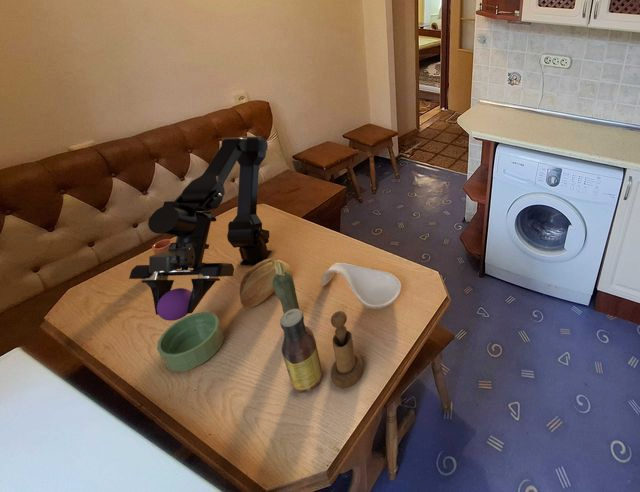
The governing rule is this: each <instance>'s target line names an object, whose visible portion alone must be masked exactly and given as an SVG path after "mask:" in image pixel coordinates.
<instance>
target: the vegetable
mask: <svg viewBox="0 0 640 492" xmlns="http://www.w3.org/2000/svg"><path fill="white" fill-rule="evenodd" d="M274 264H275V270H276V273H277V274H276V275H275V276H274V278H273V288H274V293H275V295H276V297H277V299H278V300H279V301H280V304H281V308H282V313H283V315H284V314H285V313H286V312H287V311H289V310H291V309H299V310H300V305H299V300H298V295H297V292H296V287H295V281H294V279H293V275H292V273H291V274H290V273H289V272H287V271H285V269H284V265H283V264H282V263H281V262H278V261H277V260H274V261H272V262H271V265H272V266H273V265H274Z"/></svg>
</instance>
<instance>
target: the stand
mask: <svg viewBox="0 0 640 492" xmlns="http://www.w3.org/2000/svg"><path fill="white" fill-rule="evenodd" d="M171 243H174V242H173V240H172V239H170V238H164V239H160V240H158V241H156V242H155V243H154V244H152V246H151V249H152V252H153V255H155V254H158V253H160V252H163V251H167V250H168V249H169V245H170V244H171Z"/></svg>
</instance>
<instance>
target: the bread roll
mask: <svg viewBox="0 0 640 492" xmlns="http://www.w3.org/2000/svg"><path fill="white" fill-rule="evenodd" d="M274 260H277V261H278V262H281V263H282V264H283V265H284V269H285V271H287V272H289V273H290V274H291V275H292V269H291V266H290V265H289V264H288V263H287V262H285V261H283V260H282V259H278V258H267V259H266V260H263V261H261V262H259V263H257V264H256V265H255V266H251V267H250V268H249V269H248V270H247V271H246V272H245V274H244V275H243V276H242V279H241V281H240V285H239V293H238V294H239V300H240V303H241V305H242V306H243V307H244V308H246V309H251V308H256V306H258V305H260V304H261V303H263V302H264V301H265V300H266V299H267V298H268V297H270V296H271V295H272V294H273V293H275V291H274V288H273V278H274V276H275V275H276V274H277V273H276V270H275V264H274V265H273V266H272V265H271V262H272V261H274Z"/></svg>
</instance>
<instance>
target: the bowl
mask: <svg viewBox="0 0 640 492" xmlns="http://www.w3.org/2000/svg"><path fill="white" fill-rule="evenodd" d="M224 335H225V334H224V331H223V328H222V325H221V322H220V319H219V317H218V316H217V315H216V314H215V313H212V312H210V311H209V312H208V311H202V312H201V311H200V312H196V313H191V314H189V315H186V316H184V317H183V318H181V319H178V320H176V322H174V323H173V324H172V325H170V326H169V327H168V328H166V330H165V331H164V332H162V334H161V336H160V338H159V339H158V341H157V346H156V350H157V352H158V354H159V356H160V358H161V360H162V362H163V364H164V366H165V369H167V370H169V371H171V372H178V373H179V372H185V371H188V370H192V369H195V368H197V367H199V366H200V365H202V364H203V363H206V362H207V361H208V360H210V359H211V358H212V357H213V356H214V355H215V354H216V353H217V352H218V350H220V348H221V347H222V344H223V342H224V339H225V336H224Z"/></svg>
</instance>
